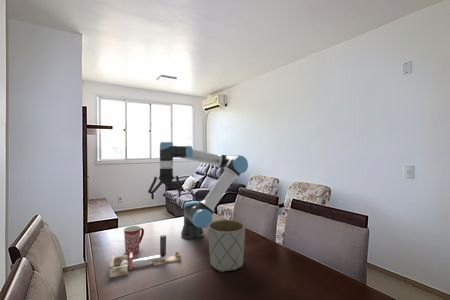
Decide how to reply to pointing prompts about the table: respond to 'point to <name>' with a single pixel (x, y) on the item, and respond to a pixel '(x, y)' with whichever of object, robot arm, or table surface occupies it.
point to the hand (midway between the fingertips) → (166, 203)
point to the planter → (226, 244)
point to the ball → (124, 263)
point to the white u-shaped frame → (150, 259)
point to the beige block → (120, 269)
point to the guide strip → (168, 259)
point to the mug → (133, 238)
